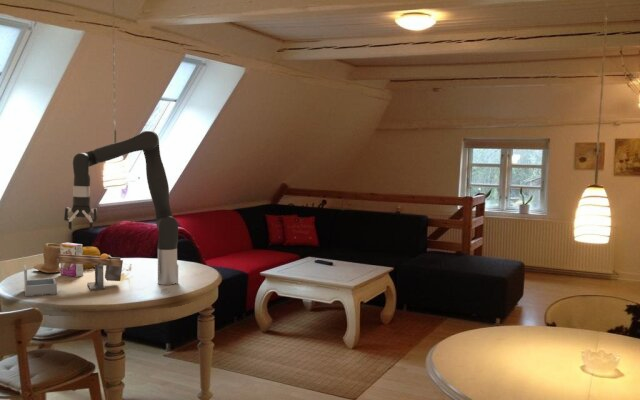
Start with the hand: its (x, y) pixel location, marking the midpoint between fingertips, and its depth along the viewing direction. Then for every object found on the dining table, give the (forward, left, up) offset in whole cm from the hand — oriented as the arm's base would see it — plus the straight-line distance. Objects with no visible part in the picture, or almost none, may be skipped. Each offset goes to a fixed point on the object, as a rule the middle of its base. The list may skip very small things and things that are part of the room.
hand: (80, 229), depth 275 cm
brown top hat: (+11, -40, -27) cm, 50 cm away
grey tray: (+18, +5, -27) cm, 33 cm away
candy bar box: (+2, -26, -27) cm, 38 cm away
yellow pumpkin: (-8, -44, -27) cm, 53 cm away
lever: (-2, +1, -22) cm, 22 cm away
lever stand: (-6, +5, -27) cm, 28 cm away
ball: (-10, +5, -13) cm, 17 cm away
